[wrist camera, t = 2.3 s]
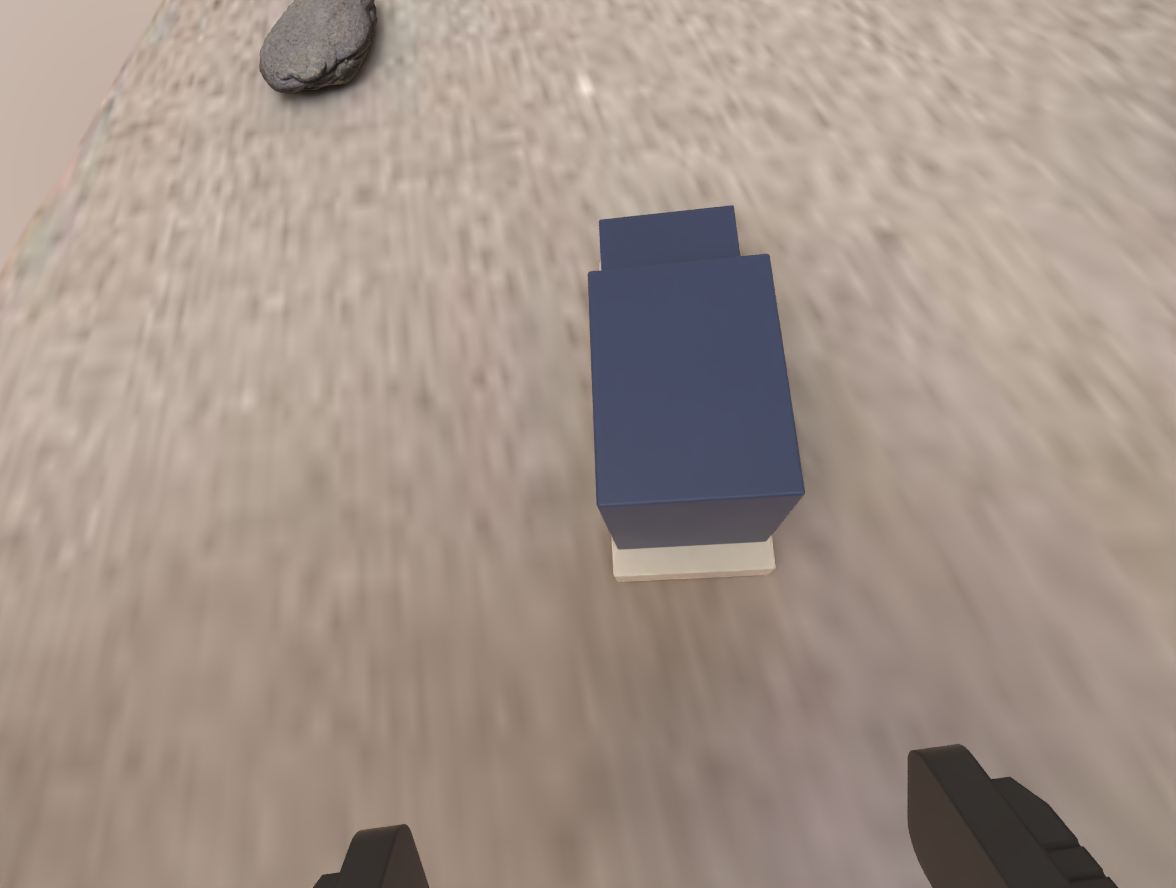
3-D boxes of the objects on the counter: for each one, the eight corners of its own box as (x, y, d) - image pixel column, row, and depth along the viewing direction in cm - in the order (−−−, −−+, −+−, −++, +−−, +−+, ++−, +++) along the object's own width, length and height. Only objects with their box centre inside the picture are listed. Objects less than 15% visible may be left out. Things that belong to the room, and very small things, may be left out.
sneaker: (769, 574, 25) (819, 531, 16) (617, 582, 26) (590, 543, 17) (730, 270, 29) (755, 113, 21) (602, 283, 30) (576, 136, 22)
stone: (243, 92, 37) (218, 58, 35) (322, -6, 39) (302, -43, 37) (332, 124, 36) (310, 91, 34) (410, 20, 37) (394, -18, 35)
